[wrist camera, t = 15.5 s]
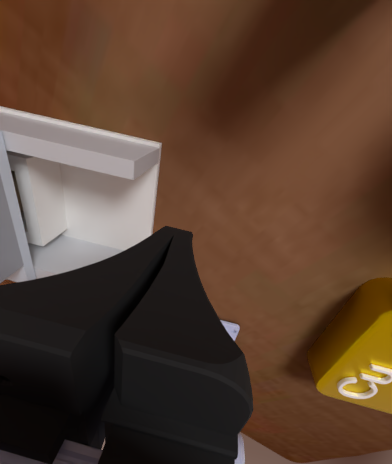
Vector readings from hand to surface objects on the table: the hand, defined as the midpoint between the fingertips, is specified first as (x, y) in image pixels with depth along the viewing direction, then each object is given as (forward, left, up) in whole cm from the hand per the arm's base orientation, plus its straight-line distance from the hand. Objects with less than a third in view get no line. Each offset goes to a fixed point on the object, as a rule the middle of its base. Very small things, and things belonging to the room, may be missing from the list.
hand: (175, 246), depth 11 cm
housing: (-4, +13, -10) cm, 17 cm away
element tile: (-13, -25, -11) cm, 30 cm away
